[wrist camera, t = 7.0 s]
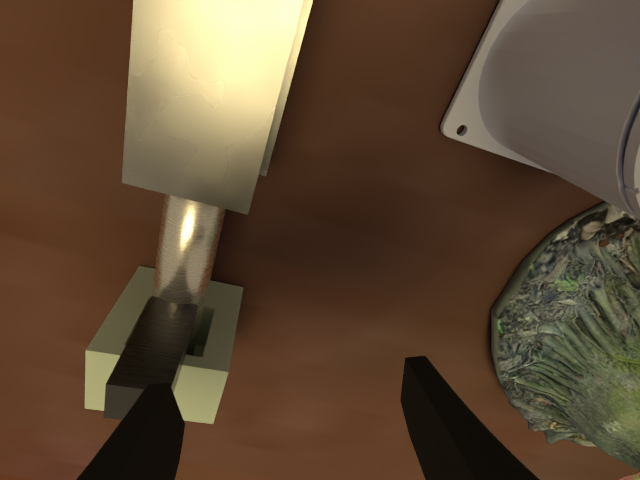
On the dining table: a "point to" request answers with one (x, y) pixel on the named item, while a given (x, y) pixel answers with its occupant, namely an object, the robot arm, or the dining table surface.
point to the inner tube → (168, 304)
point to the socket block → (198, 370)
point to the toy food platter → (632, 477)
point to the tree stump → (576, 334)
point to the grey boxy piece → (208, 94)
